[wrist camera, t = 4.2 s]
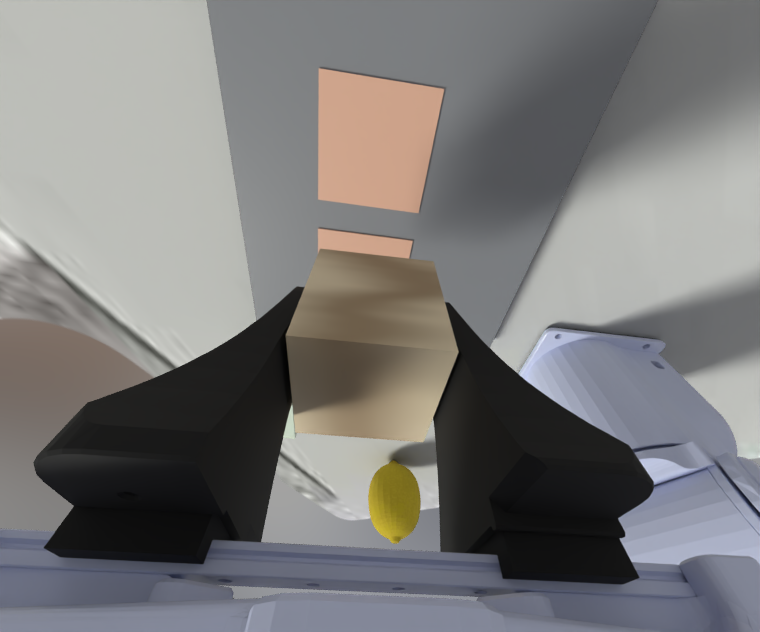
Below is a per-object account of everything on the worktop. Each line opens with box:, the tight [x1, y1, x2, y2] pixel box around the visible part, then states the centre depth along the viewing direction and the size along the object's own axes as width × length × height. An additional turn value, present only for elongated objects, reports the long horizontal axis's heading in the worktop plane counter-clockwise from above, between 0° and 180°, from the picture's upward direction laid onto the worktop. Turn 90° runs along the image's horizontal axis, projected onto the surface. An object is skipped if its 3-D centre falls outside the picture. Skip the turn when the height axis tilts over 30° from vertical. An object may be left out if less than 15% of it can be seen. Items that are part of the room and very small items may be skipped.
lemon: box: [368, 460, 420, 544], centre depth 32 cm, size 6×6×8 cm
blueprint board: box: [207, 0, 658, 348], centre depth 17 cm, size 17×19×1 cm
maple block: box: [286, 249, 458, 442], centre depth 11 cm, size 4×4×5 cm
